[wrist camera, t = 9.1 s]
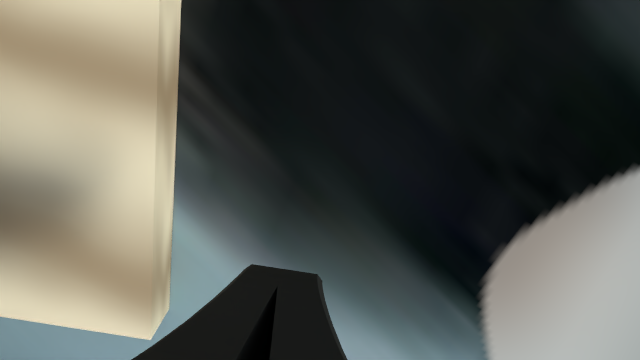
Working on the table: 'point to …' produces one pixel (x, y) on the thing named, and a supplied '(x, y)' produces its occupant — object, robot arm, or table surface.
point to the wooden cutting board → (88, 161)
